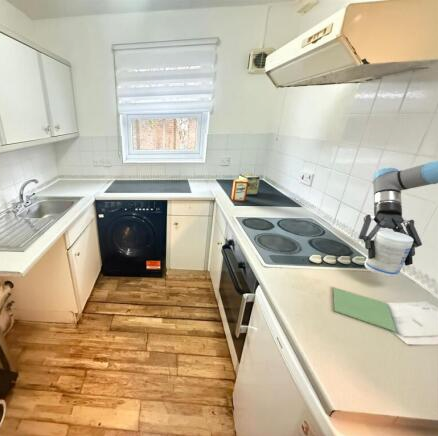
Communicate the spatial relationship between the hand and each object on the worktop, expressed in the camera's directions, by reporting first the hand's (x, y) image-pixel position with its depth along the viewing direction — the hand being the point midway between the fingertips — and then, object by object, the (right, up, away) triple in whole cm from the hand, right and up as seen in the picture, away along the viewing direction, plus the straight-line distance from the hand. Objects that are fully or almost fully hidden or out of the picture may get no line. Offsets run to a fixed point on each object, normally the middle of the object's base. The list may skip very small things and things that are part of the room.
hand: (389, 261), depth 84 cm
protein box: (0, +37, +121) cm, 126 cm away
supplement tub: (+1, -5, +5) cm, 7 cm away
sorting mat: (-13, -15, -3) cm, 21 cm away
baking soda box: (-14, +30, +104) cm, 109 cm away
